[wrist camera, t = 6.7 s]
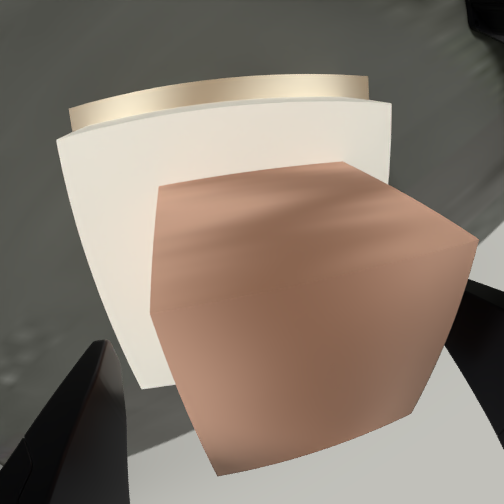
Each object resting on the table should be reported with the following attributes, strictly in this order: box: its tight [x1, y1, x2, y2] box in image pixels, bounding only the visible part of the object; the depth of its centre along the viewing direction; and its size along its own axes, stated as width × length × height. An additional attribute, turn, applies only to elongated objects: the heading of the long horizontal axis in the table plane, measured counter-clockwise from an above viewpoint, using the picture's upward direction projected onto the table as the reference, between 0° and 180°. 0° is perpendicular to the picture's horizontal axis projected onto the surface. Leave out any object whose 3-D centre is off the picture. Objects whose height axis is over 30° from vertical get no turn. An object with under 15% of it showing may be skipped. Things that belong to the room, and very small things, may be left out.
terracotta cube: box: [150, 161, 479, 476], centre depth 8 cm, size 6×6×6 cm
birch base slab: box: [69, 74, 369, 132], centre depth 15 cm, size 12×12×4 cm
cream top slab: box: [56, 96, 391, 389], centre depth 12 cm, size 10×10×4 cm
